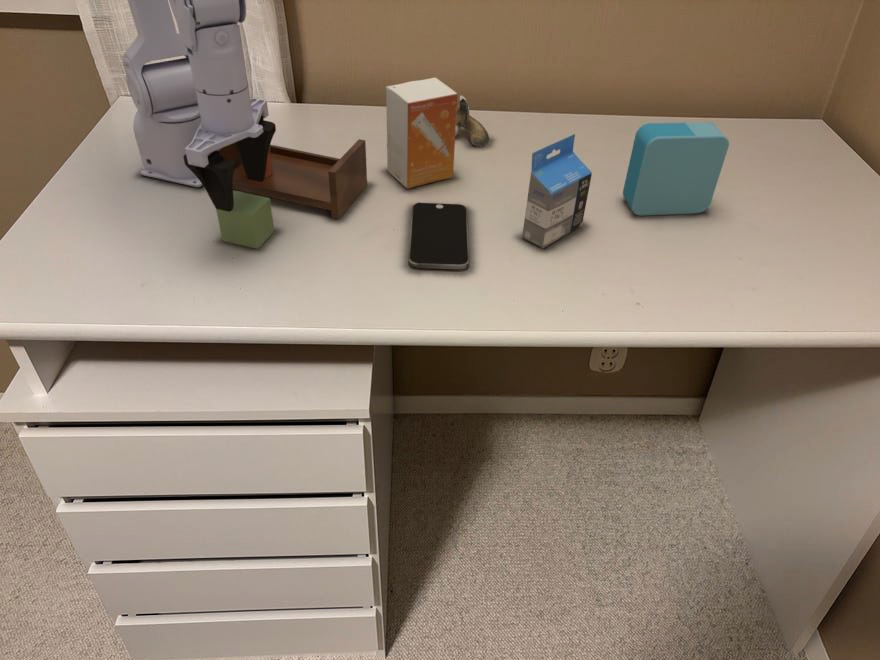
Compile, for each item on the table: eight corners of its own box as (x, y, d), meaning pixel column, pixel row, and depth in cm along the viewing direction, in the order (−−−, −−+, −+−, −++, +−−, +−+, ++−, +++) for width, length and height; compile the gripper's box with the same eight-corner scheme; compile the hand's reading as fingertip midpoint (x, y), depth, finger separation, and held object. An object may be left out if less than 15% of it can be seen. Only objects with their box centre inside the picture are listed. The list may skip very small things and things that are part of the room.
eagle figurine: (423, 127, 118) (459, 138, 112) (437, 83, 116) (475, 92, 111) (454, 142, 124) (491, 153, 118) (468, 101, 122) (506, 109, 117)
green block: (222, 241, 93) (215, 206, 89) (240, 223, 96) (234, 190, 92) (258, 249, 92) (252, 214, 88) (274, 231, 95) (269, 197, 92)
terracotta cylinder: (238, 176, 100) (230, 135, 96) (252, 163, 103) (246, 123, 99) (264, 182, 99) (258, 141, 95) (278, 169, 102) (273, 128, 98)
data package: (696, 197, 109) (718, 121, 101) (708, 213, 106) (732, 136, 98) (620, 200, 107) (637, 122, 99) (630, 216, 104) (648, 137, 96)
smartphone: (467, 203, 102) (469, 265, 91) (466, 208, 102) (469, 270, 91) (412, 201, 101) (407, 263, 90) (412, 206, 102) (407, 268, 91)
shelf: (338, 219, 98) (335, 172, 93) (219, 193, 101) (209, 146, 96) (367, 185, 105) (365, 140, 101) (255, 161, 108) (248, 116, 104)
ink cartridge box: (542, 250, 96) (555, 164, 88) (520, 238, 98) (531, 153, 89) (583, 226, 101) (598, 143, 93) (561, 215, 103) (574, 132, 94)
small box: (407, 190, 105) (406, 102, 96) (386, 171, 109) (384, 85, 100) (454, 178, 109) (458, 92, 100) (433, 159, 112) (435, 75, 104)
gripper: (218, 117, 75) (239, 230, 84) (285, 68, 85) (297, 173, 94) (158, 105, 76) (185, 217, 85) (231, 58, 86) (248, 162, 95)
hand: (240, 193), depth 90 cm, fingers open, 7 cm apart
